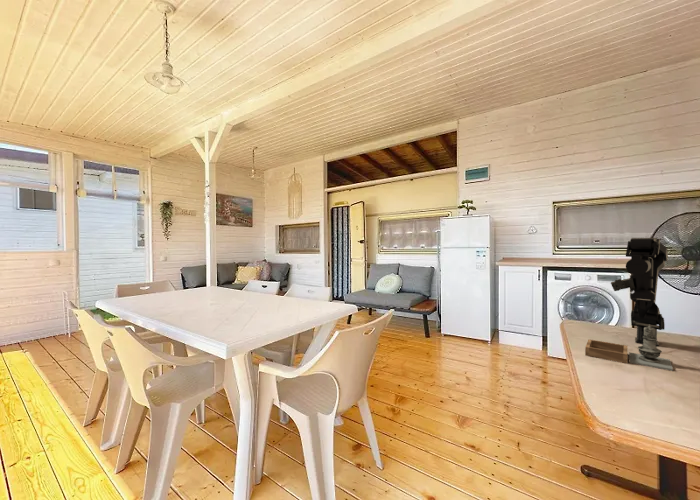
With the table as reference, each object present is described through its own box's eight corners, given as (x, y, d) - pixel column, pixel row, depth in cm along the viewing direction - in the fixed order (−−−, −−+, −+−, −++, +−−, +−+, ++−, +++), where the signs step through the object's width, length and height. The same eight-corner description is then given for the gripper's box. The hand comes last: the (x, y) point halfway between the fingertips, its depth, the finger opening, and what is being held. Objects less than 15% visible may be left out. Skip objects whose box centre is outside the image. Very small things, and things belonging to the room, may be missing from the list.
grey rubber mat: (629, 353, 109) (629, 352, 109) (669, 361, 103) (669, 359, 103) (629, 362, 102) (629, 360, 102) (672, 371, 95) (672, 369, 95)
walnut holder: (588, 347, 117) (588, 339, 117) (627, 354, 109) (627, 345, 109) (585, 355, 109) (585, 347, 108) (627, 363, 101) (627, 354, 101)
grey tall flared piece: (666, 362, 100) (667, 326, 100) (652, 364, 99) (652, 327, 99) (646, 355, 106) (647, 321, 105) (632, 357, 105) (632, 322, 104)
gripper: (613, 269, 124) (612, 307, 124) (611, 273, 110) (610, 316, 111) (652, 270, 116) (651, 311, 117) (655, 275, 102) (654, 322, 103)
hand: (641, 315), depth 112 cm, fingers open, 9 cm apart
